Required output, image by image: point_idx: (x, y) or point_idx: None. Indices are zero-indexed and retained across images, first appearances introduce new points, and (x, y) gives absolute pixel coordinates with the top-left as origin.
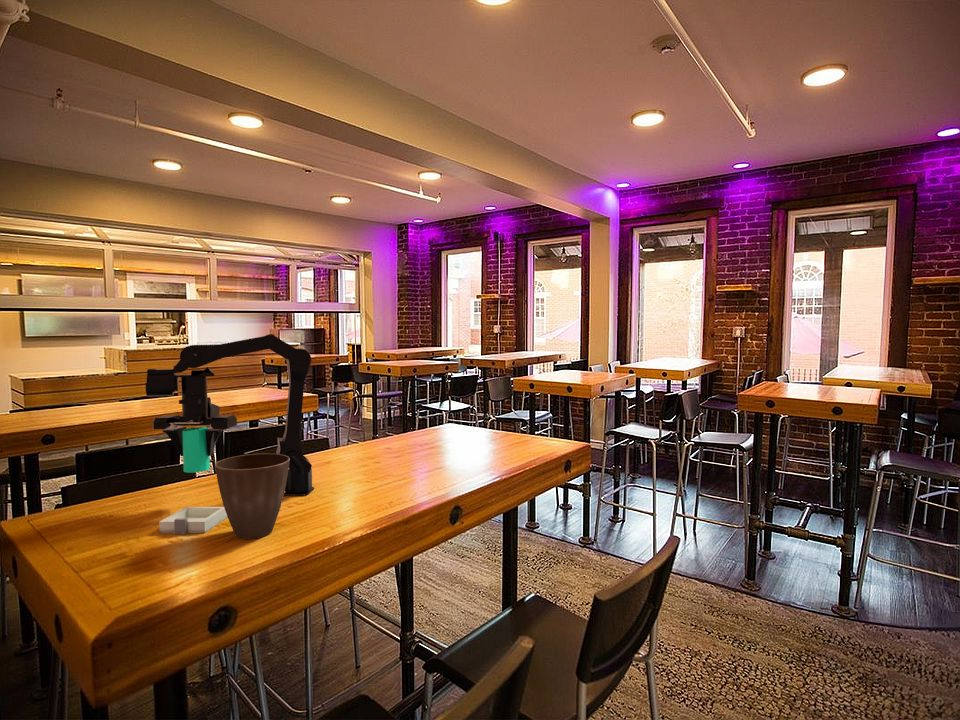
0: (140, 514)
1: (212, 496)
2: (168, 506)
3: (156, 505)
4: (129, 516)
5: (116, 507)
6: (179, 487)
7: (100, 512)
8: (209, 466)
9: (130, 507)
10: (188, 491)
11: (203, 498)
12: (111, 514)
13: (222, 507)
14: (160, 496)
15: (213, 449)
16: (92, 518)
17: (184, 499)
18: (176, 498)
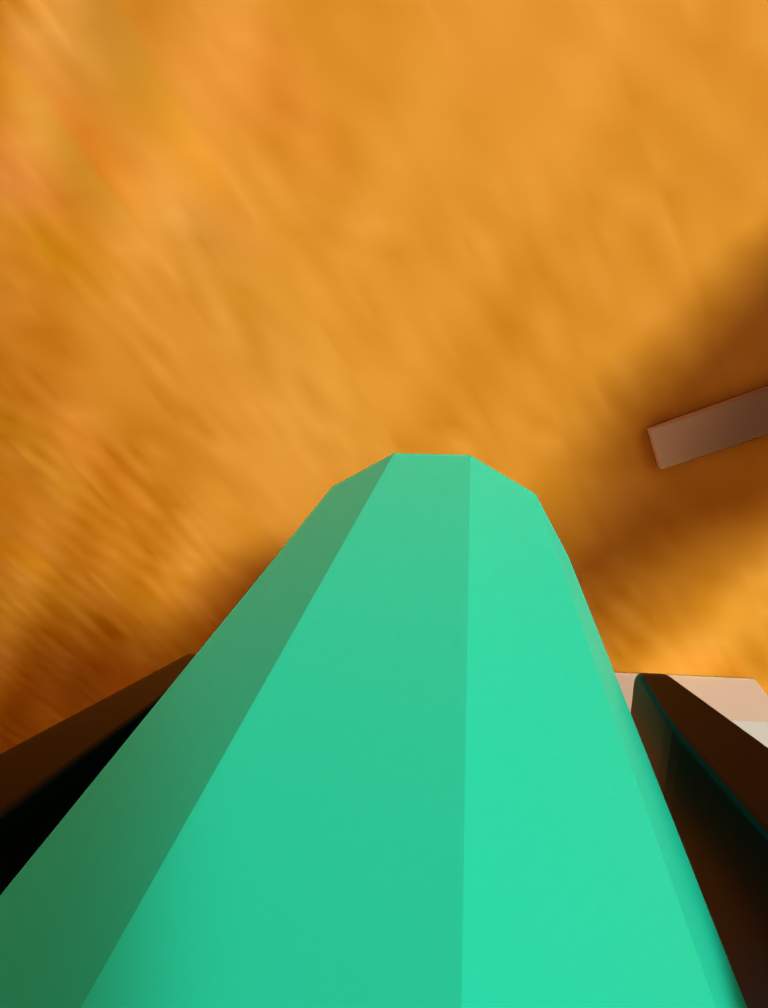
0: (227, 615)
1: (436, 254)
2: (276, 490)
3: (192, 473)
4: (198, 640)
5: (14, 509)
6: (6, 8)
7: (14, 582)
8: (575, 574)
9: (83, 509)
10: (163, 128)
11: (396, 312)
12: (90, 610)
13: (758, 730)
14: (68, 285)
15: (744, 746)
16: (59, 657)
17: (276, 344)
18: (206, 324)
